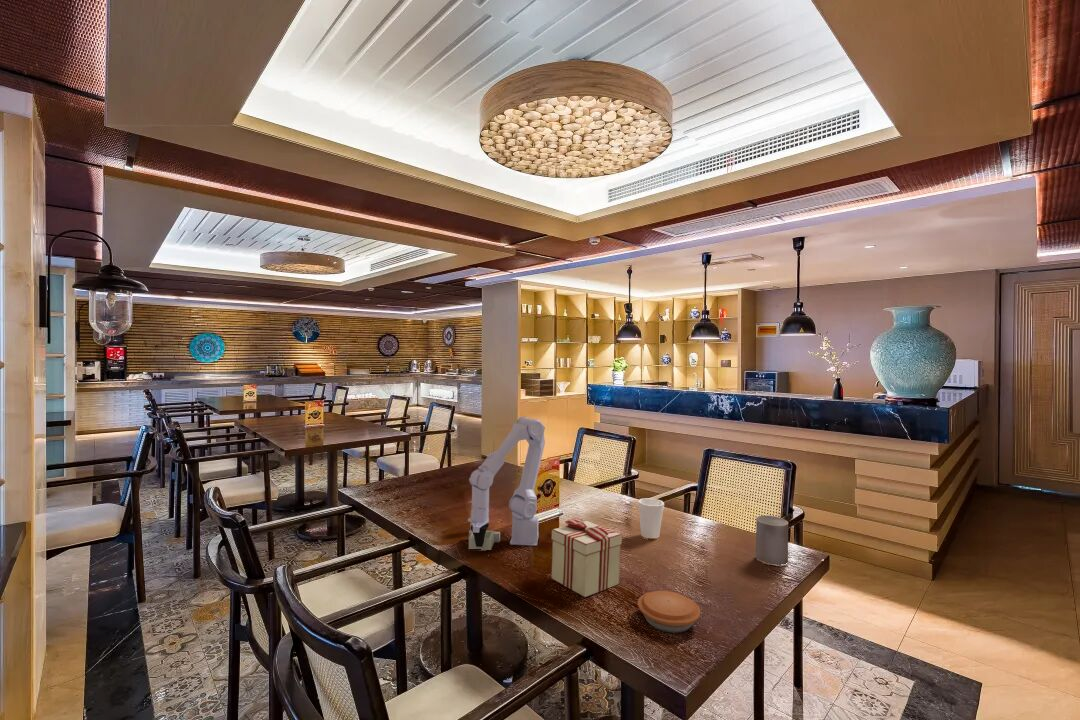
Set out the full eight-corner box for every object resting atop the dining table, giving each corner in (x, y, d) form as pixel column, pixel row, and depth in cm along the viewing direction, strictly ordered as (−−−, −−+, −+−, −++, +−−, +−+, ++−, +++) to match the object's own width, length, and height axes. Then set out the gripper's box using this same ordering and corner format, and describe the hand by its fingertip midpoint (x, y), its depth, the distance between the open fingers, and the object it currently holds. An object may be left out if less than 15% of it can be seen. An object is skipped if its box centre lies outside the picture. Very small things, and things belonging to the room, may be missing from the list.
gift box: (628, 580, 144) (629, 522, 144) (588, 601, 131) (590, 538, 131) (584, 561, 156) (586, 508, 156) (544, 579, 143) (546, 521, 143)
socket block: (494, 542, 170) (494, 530, 170) (490, 550, 163) (490, 538, 163) (473, 541, 171) (473, 530, 171) (468, 549, 163) (468, 537, 163)
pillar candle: (770, 553, 166) (771, 510, 166) (794, 564, 157) (795, 519, 157) (748, 557, 162) (749, 513, 162) (772, 569, 153) (773, 522, 153)
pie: (698, 644, 112) (698, 623, 112) (632, 629, 118) (632, 608, 118) (701, 612, 127) (702, 593, 127) (642, 599, 132) (643, 581, 132)
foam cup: (661, 543, 173) (662, 507, 173) (635, 539, 176) (636, 504, 176) (663, 534, 182) (664, 500, 182) (639, 530, 185) (640, 497, 185)
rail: (499, 540, 172) (500, 531, 172) (499, 542, 170) (499, 533, 170) (469, 538, 173) (469, 530, 173) (468, 540, 171) (468, 532, 171)
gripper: (472, 499, 169) (471, 537, 169) (463, 512, 155) (462, 554, 155) (492, 500, 169) (491, 538, 169) (485, 513, 154) (484, 555, 154)
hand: (479, 546), depth 162 cm, fingers closed
